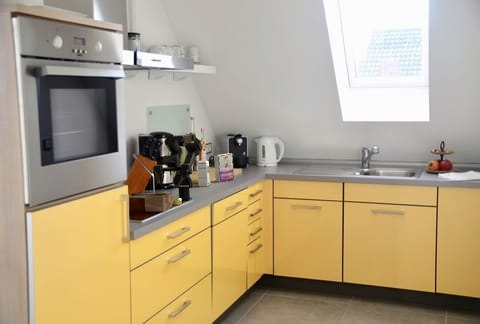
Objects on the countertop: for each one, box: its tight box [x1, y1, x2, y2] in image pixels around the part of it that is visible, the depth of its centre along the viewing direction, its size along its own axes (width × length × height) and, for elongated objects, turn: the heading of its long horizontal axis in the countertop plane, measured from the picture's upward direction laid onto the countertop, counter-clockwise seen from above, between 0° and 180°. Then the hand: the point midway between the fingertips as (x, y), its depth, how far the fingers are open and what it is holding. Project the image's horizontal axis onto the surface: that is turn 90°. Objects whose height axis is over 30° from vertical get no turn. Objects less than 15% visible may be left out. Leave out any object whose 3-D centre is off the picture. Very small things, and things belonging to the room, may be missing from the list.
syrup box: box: [196, 160, 211, 187], centre depth 349 cm, size 6×6×14 cm
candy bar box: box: [213, 152, 235, 183], centre depth 364 cm, size 11×5×16 cm, turn 131°
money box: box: [144, 192, 173, 213], centre depth 283 cm, size 11×9×7 cm
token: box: [172, 197, 183, 207], centre depth 293 cm, size 5×5×3 cm
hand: (169, 184), depth 285 cm, fingers open, 9 cm apart
